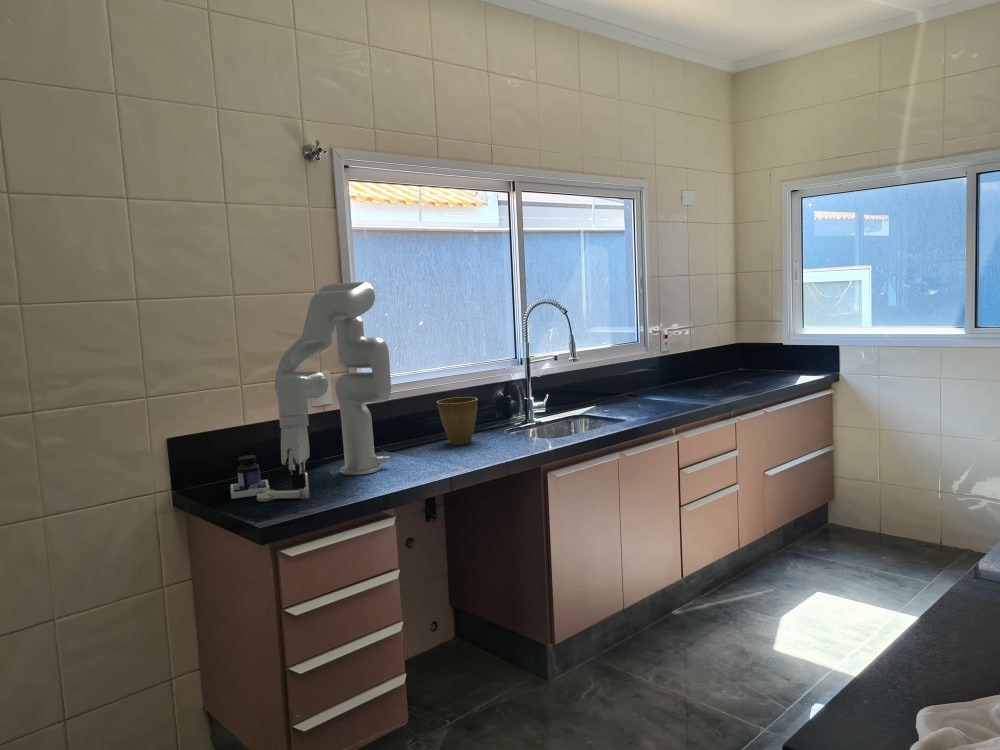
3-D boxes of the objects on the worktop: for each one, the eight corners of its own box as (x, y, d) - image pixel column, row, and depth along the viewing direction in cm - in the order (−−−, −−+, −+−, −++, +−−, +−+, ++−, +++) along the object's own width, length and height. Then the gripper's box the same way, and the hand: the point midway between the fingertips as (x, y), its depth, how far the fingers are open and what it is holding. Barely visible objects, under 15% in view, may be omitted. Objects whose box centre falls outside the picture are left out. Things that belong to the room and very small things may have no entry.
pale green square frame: (268, 489, 224) (267, 479, 223) (270, 497, 214) (269, 487, 214) (231, 494, 220) (230, 484, 220) (231, 503, 211) (230, 493, 210)
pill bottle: (264, 490, 221) (260, 453, 219) (258, 496, 215) (255, 458, 213) (243, 492, 220) (239, 455, 219) (237, 497, 214) (233, 460, 213)
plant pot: (483, 438, 280) (480, 395, 278) (476, 446, 266) (473, 402, 264) (444, 439, 283) (441, 397, 281) (435, 448, 268) (432, 403, 266)
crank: (254, 502, 205) (251, 477, 205) (261, 496, 210) (259, 472, 210) (306, 500, 204) (303, 475, 203) (312, 495, 209) (310, 470, 208)
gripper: (289, 417, 208) (294, 482, 210) (270, 425, 193) (276, 495, 195) (316, 416, 208) (321, 481, 209) (298, 424, 193) (304, 494, 195)
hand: (299, 488), depth 202 cm, fingers closed
